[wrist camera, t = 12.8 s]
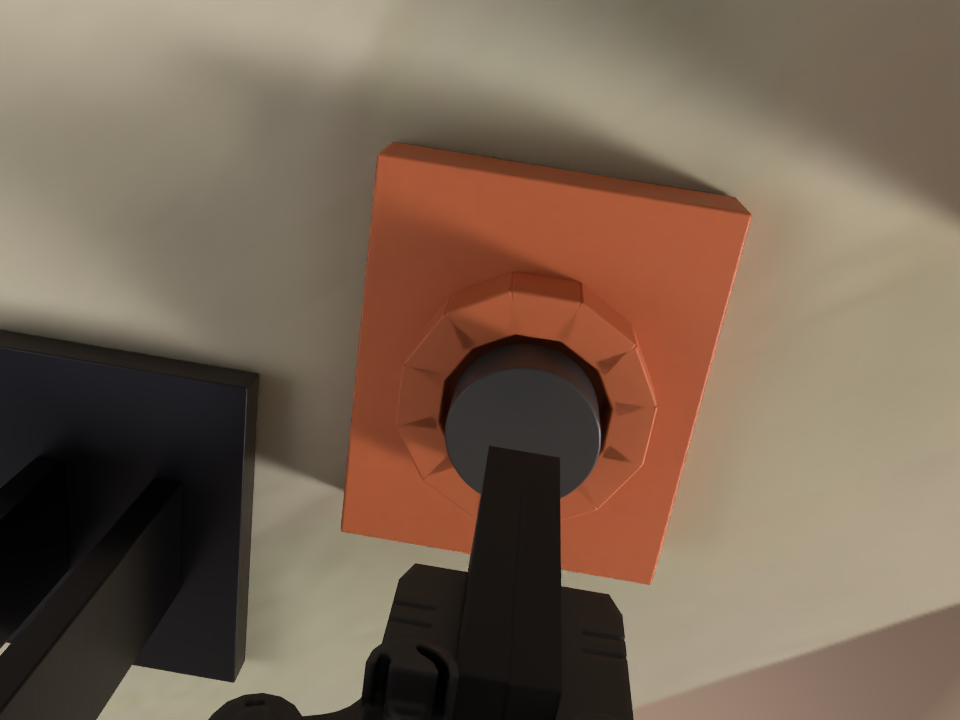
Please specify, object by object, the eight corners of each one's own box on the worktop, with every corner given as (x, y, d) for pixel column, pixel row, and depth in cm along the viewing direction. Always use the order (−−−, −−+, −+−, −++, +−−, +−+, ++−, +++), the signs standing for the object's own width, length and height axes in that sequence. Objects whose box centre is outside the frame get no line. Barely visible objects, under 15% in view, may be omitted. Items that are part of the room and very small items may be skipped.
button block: (391, 141, 25) (362, 164, 21) (736, 197, 24) (768, 230, 21) (354, 496, 29) (325, 566, 26) (644, 545, 29) (657, 624, 25)
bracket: (-11, 327, 28) (-555, 630, 14) (259, 373, 28) (-30, 723, 14) (13, 619, 33) (-380, 1059, 19) (245, 660, 32) (17, 1134, 19)
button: (462, 330, 23) (455, 355, 21) (611, 355, 23) (616, 382, 21) (443, 461, 24) (434, 493, 23) (583, 485, 24) (584, 519, 23)
